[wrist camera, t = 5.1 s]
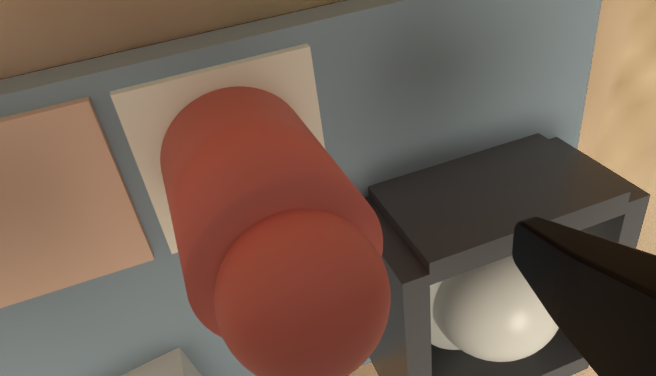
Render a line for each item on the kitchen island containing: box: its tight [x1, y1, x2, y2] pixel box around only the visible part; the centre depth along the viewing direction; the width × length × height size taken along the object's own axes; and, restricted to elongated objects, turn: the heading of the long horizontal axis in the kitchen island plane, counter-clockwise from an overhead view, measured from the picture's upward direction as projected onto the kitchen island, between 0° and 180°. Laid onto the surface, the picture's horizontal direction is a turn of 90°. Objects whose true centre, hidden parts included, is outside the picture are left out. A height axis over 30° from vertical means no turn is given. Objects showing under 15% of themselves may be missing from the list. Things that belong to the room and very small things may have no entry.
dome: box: [430, 256, 559, 362], centre depth 18 cm, size 6×6×4 cm
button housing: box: [365, 133, 650, 376], centre depth 18 cm, size 8×8×4 cm
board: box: [0, 0, 602, 376], centre depth 17 cm, size 14×26×2 cm, turn 97°
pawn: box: [160, 86, 391, 376], centre depth 11 cm, size 4×4×7 cm
